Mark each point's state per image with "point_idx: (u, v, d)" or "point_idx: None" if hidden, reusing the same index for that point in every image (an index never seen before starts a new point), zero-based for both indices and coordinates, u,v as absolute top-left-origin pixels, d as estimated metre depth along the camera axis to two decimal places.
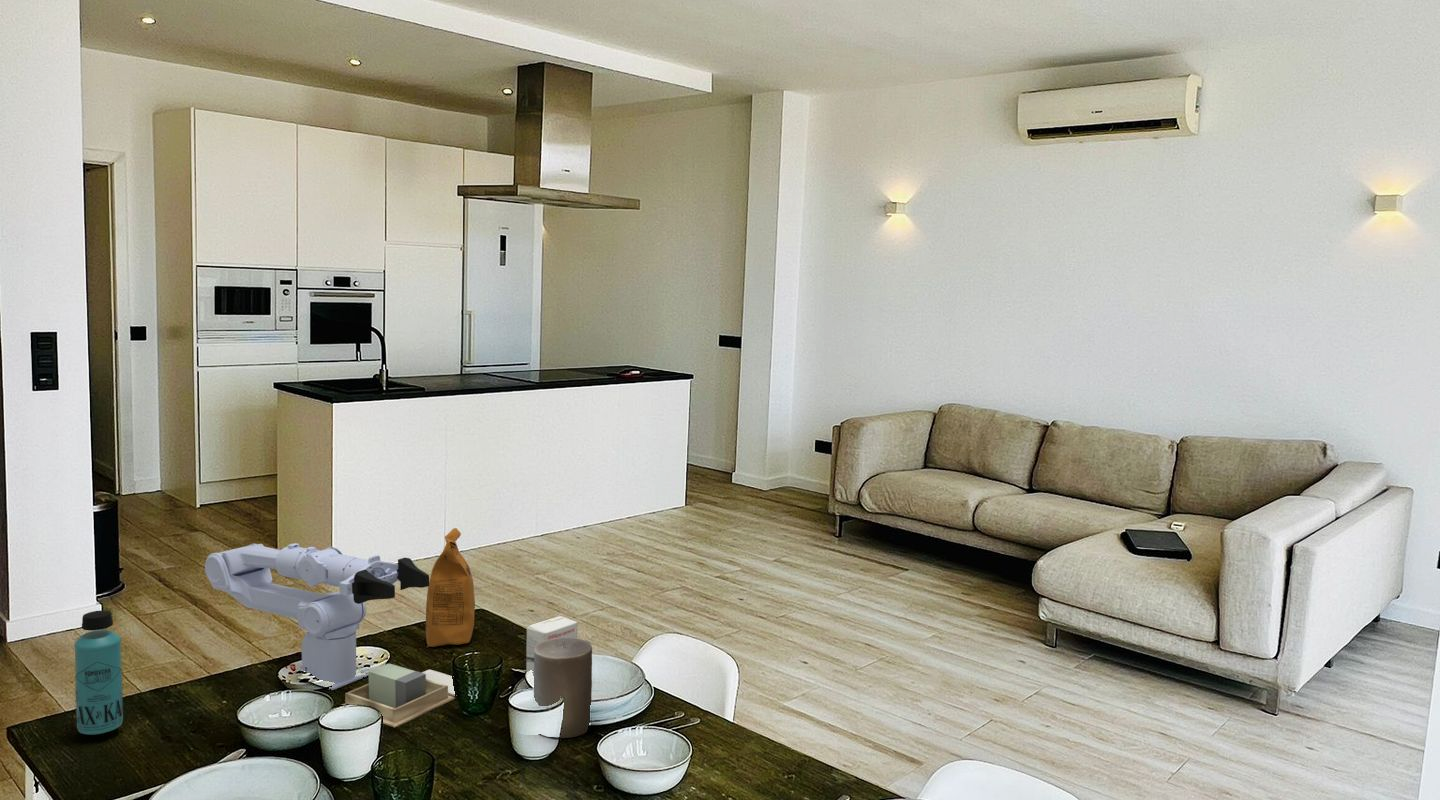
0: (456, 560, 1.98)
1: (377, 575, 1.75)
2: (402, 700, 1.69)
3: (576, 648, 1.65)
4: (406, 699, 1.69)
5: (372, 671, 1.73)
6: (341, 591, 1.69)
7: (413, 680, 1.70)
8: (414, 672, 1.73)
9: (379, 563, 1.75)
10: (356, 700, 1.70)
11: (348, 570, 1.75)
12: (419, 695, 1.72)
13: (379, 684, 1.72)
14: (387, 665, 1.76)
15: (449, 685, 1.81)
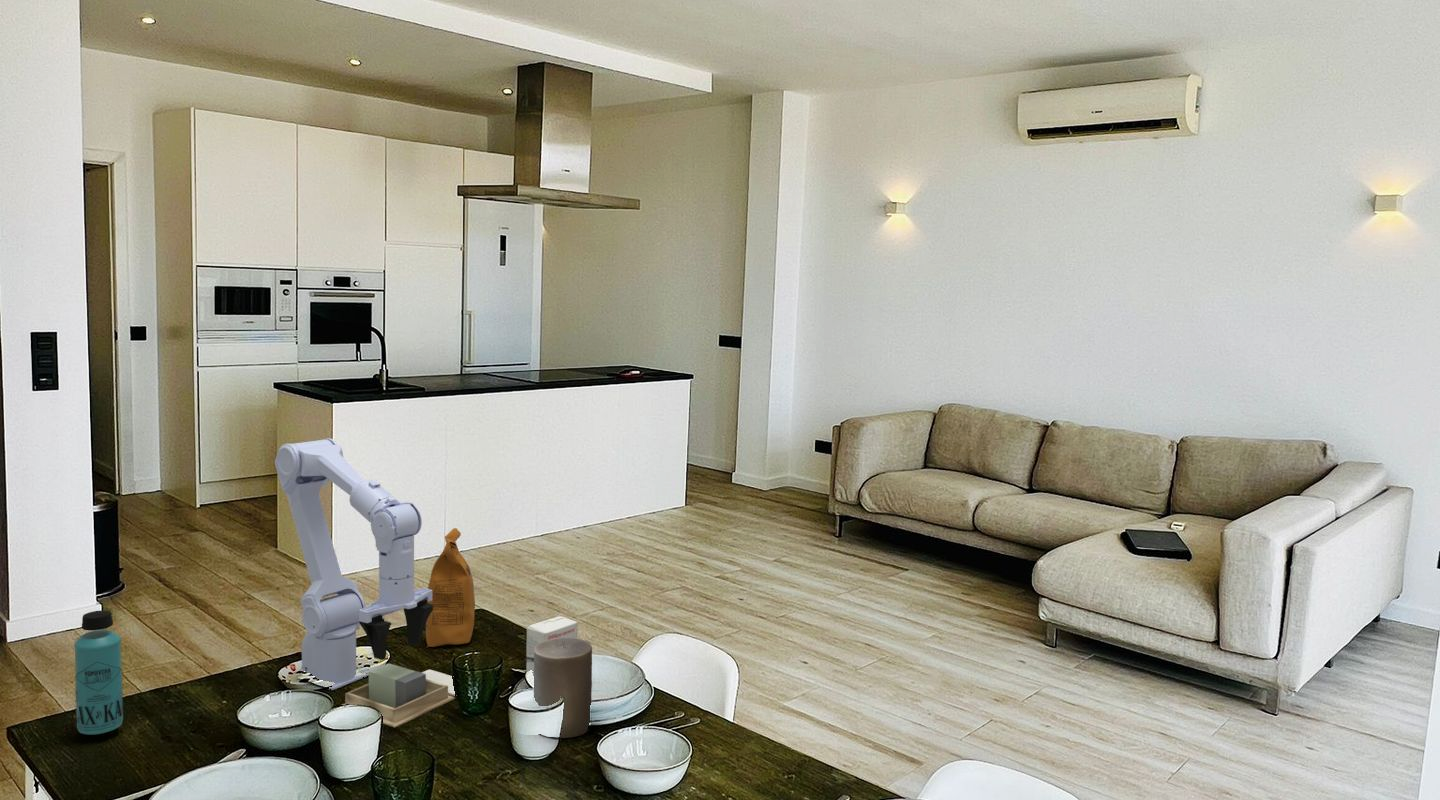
0: (456, 560, 1.98)
1: None
2: (402, 700, 1.69)
3: (576, 648, 1.65)
4: (406, 699, 1.69)
5: (372, 671, 1.73)
6: (360, 613, 1.65)
7: (413, 680, 1.70)
8: (414, 672, 1.73)
9: None
10: (356, 700, 1.70)
11: (391, 585, 1.68)
12: (419, 695, 1.72)
13: (379, 684, 1.72)
14: (387, 665, 1.76)
15: (449, 685, 1.81)
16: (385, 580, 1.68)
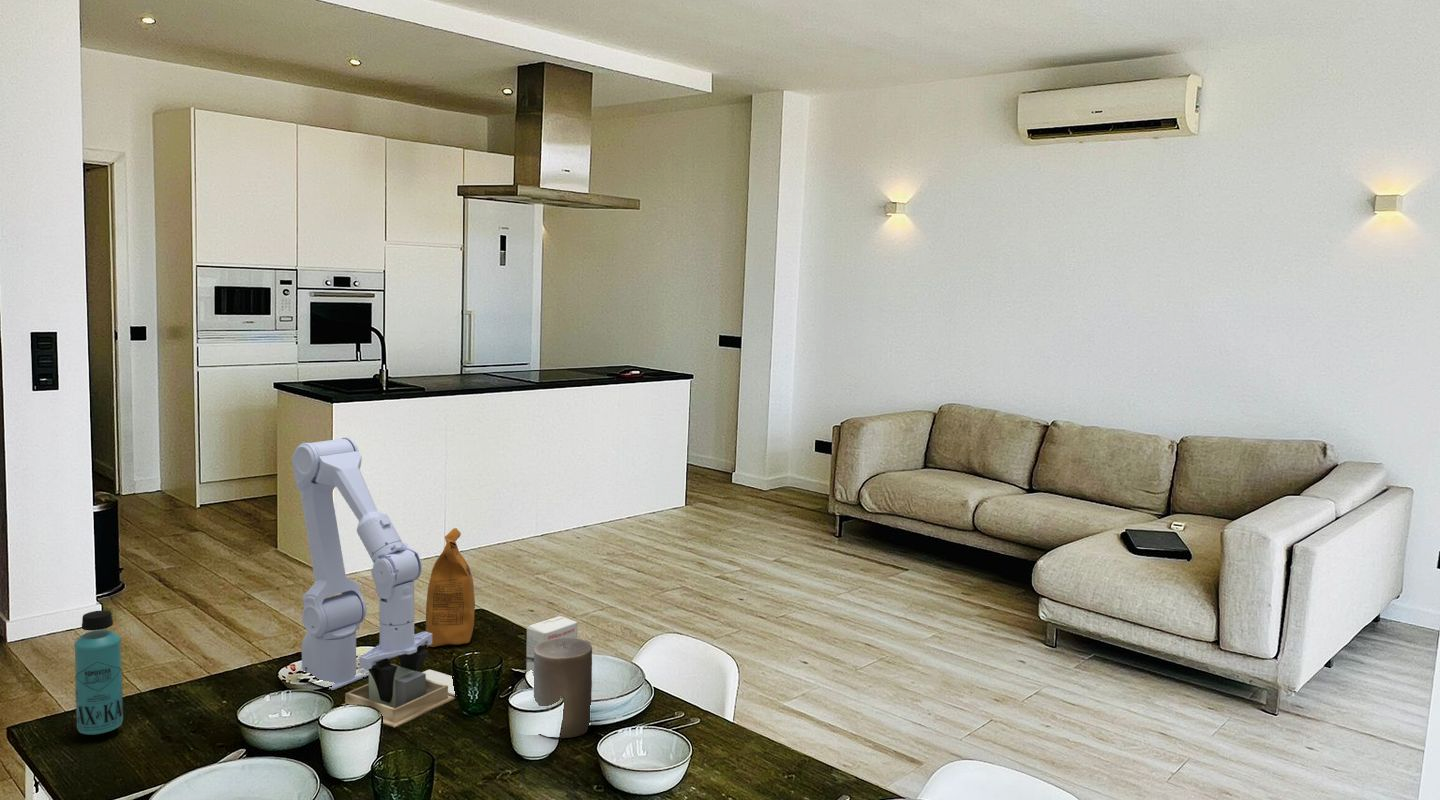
0: (456, 560, 1.98)
1: None
2: (402, 699, 1.69)
3: (576, 648, 1.65)
4: (406, 699, 1.69)
5: None
6: (361, 660, 1.66)
7: (413, 680, 1.70)
8: (414, 671, 1.73)
9: None
10: (356, 700, 1.70)
11: (391, 631, 1.69)
12: (419, 695, 1.72)
13: None
14: None
15: (449, 685, 1.81)
16: (385, 626, 1.69)
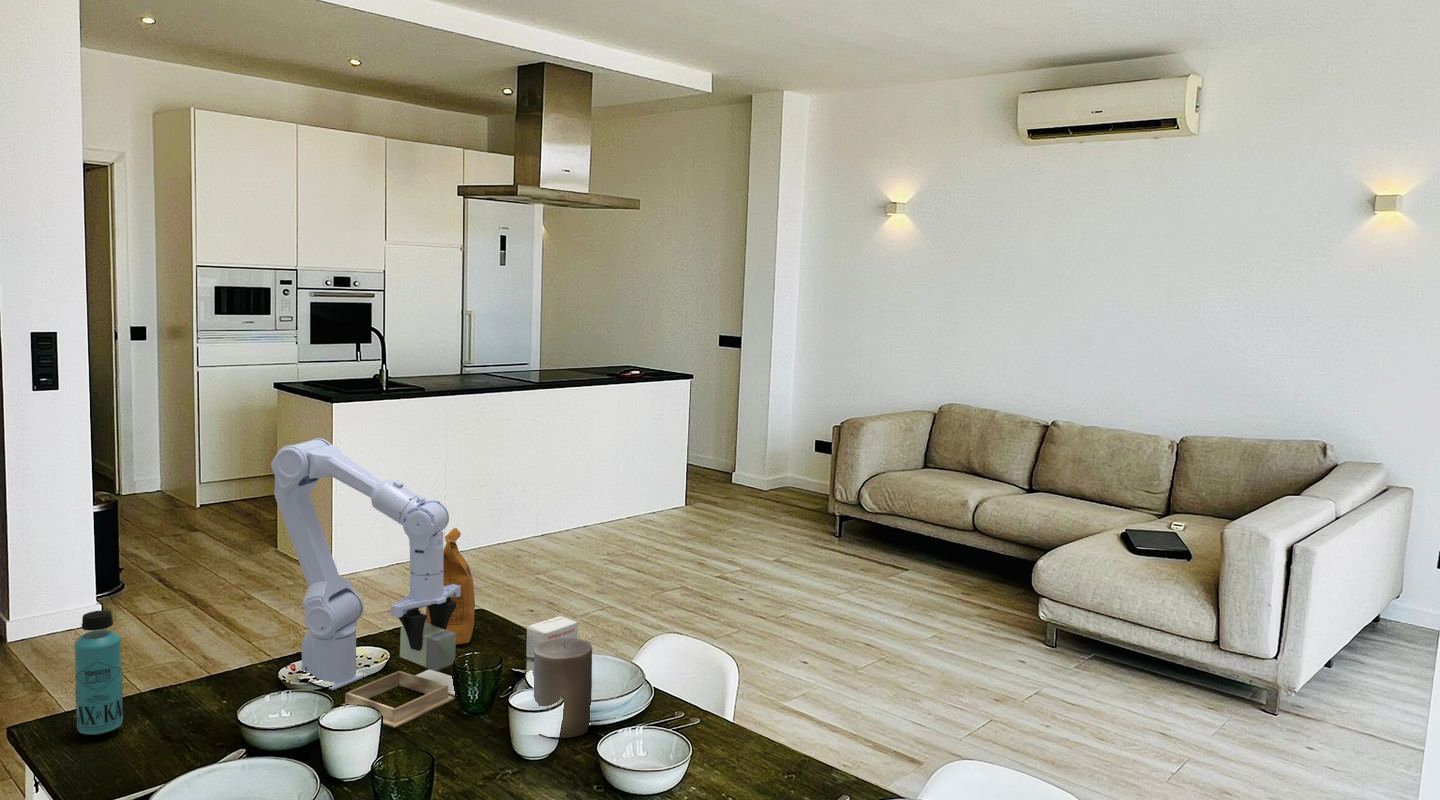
0: (456, 560, 1.98)
1: None
2: (432, 657, 1.75)
3: (576, 648, 1.65)
4: (437, 657, 1.74)
5: None
6: (392, 608, 1.71)
7: (444, 639, 1.75)
8: (445, 630, 1.78)
9: None
10: (356, 700, 1.70)
11: (421, 581, 1.74)
12: (449, 653, 1.77)
13: None
14: None
15: (449, 685, 1.81)
16: (416, 576, 1.74)
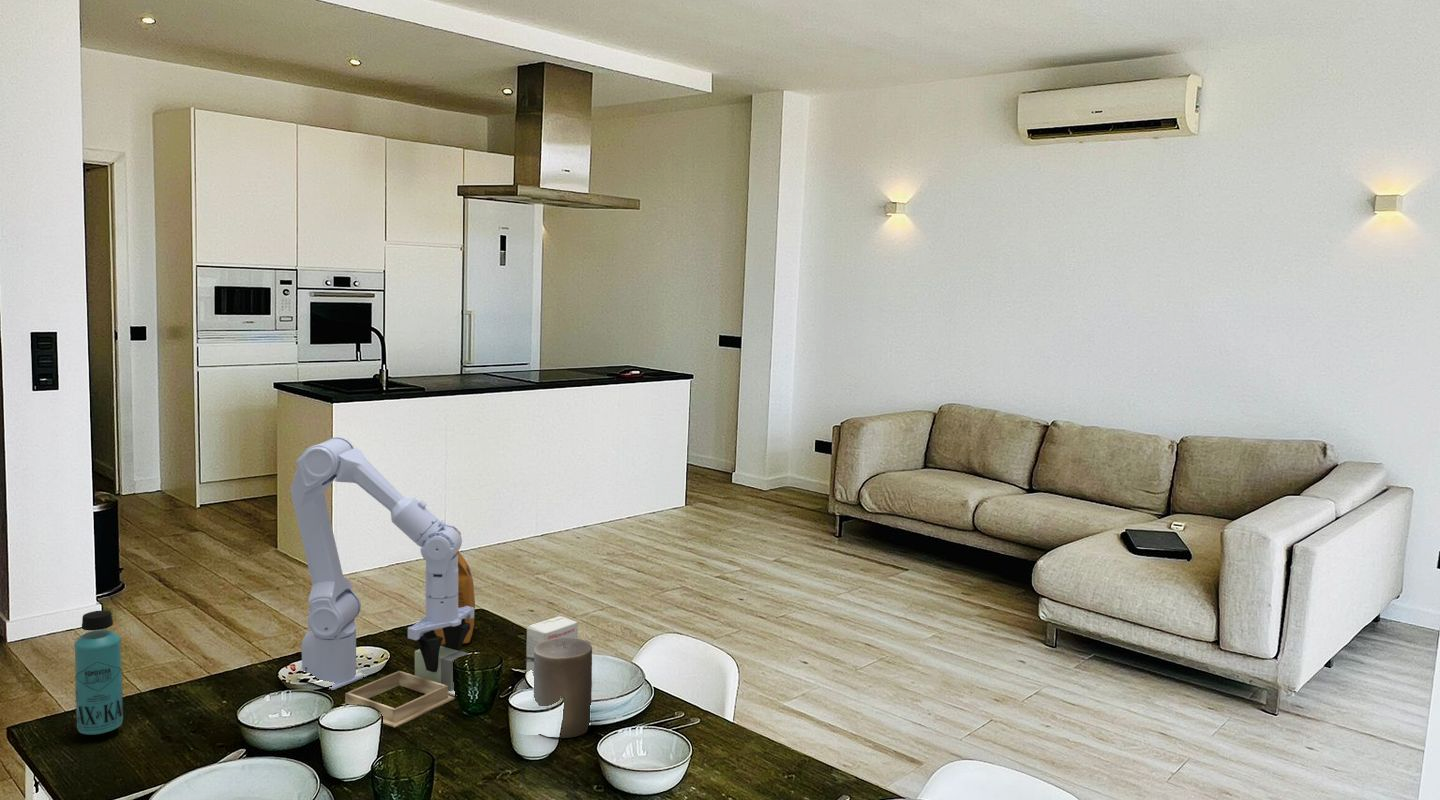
0: None
1: None
2: (447, 677, 1.79)
3: (576, 648, 1.65)
4: (451, 677, 1.78)
5: (418, 650, 1.82)
6: (409, 631, 1.75)
7: None
8: (458, 651, 1.82)
9: None
10: (356, 700, 1.70)
11: (437, 604, 1.78)
12: None
13: (424, 663, 1.81)
14: None
15: None
16: (432, 599, 1.78)
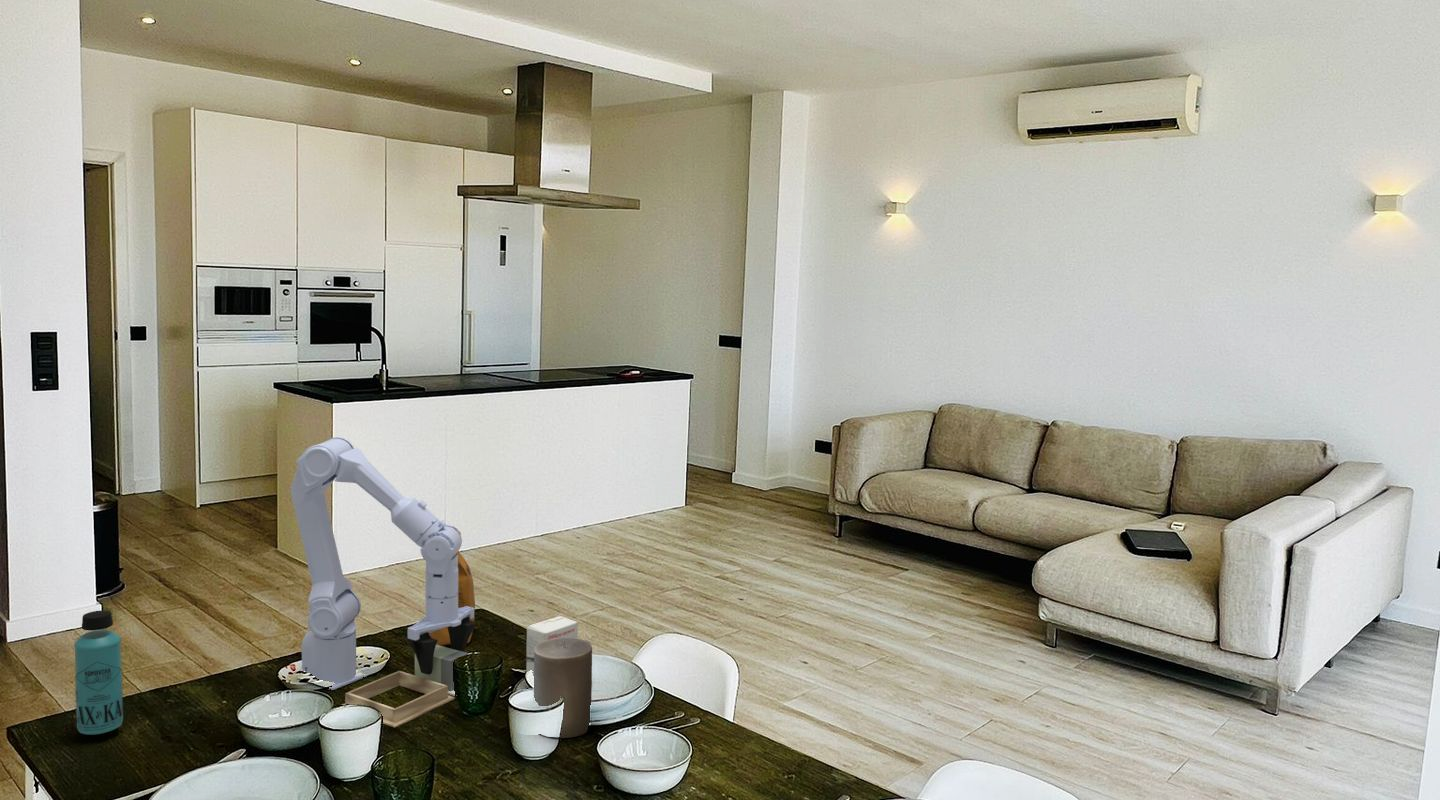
0: None
1: None
2: (447, 677, 1.79)
3: (576, 648, 1.65)
4: (451, 677, 1.78)
5: None
6: (409, 631, 1.75)
7: None
8: (458, 651, 1.82)
9: None
10: (356, 700, 1.70)
11: (437, 604, 1.78)
12: None
13: None
14: None
15: None
16: (431, 599, 1.78)
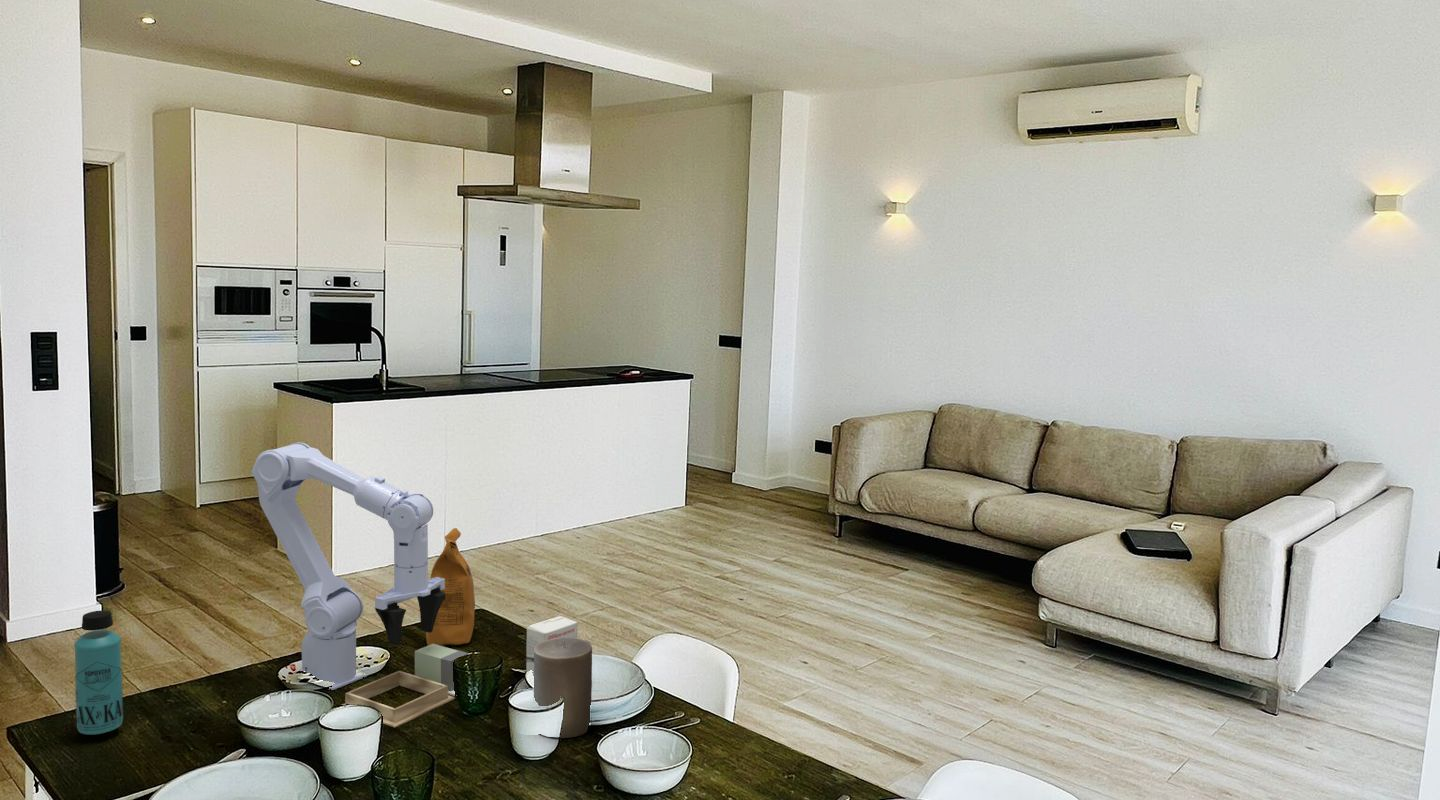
0: (456, 560, 1.98)
1: None
2: (447, 677, 1.79)
3: (576, 648, 1.65)
4: (451, 677, 1.78)
5: (418, 650, 1.82)
6: (377, 600, 1.72)
7: None
8: (458, 651, 1.82)
9: None
10: (356, 700, 1.70)
11: (406, 573, 1.75)
12: None
13: (424, 663, 1.81)
14: (432, 646, 1.85)
15: None
16: (400, 569, 1.75)
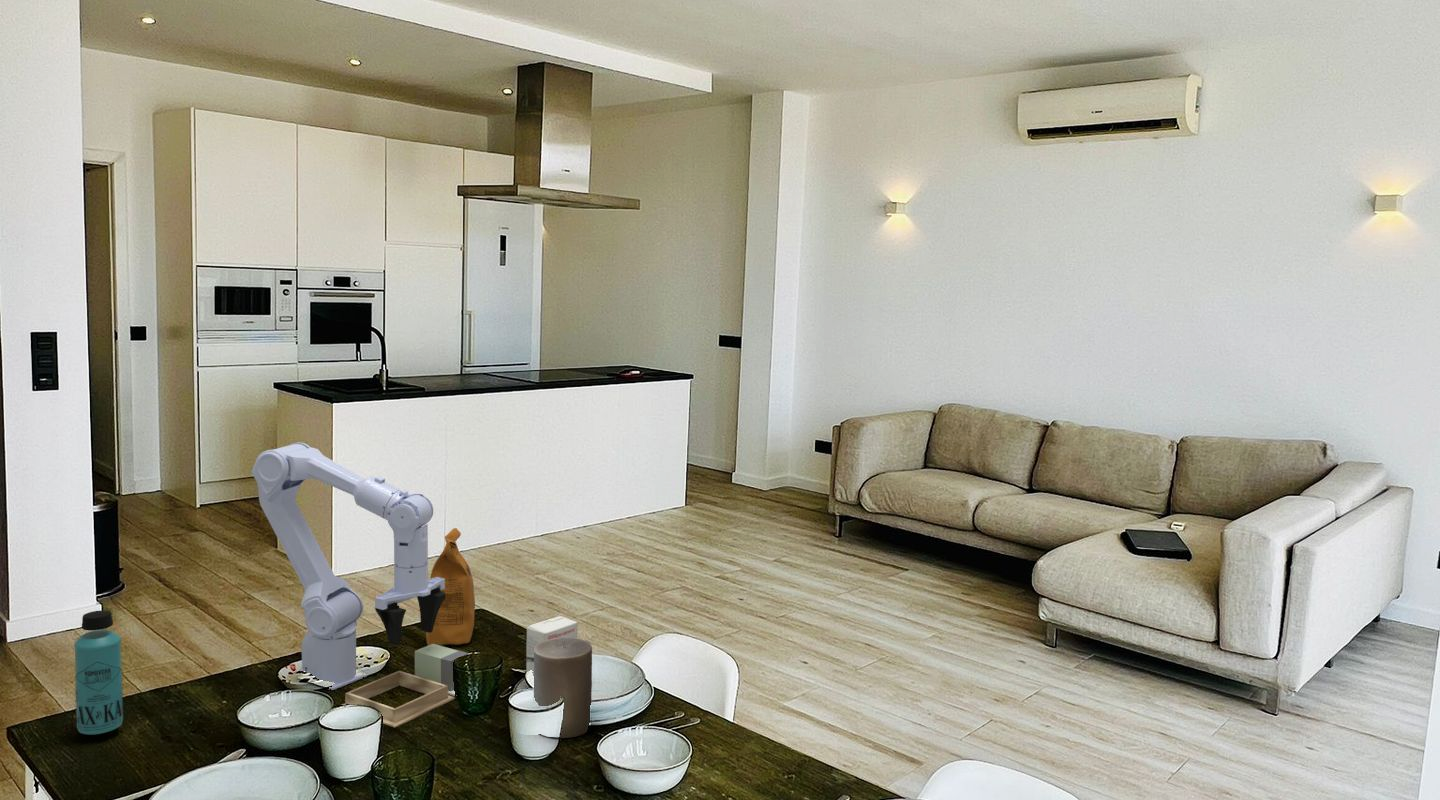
0: (456, 560, 1.98)
1: None
2: (447, 677, 1.79)
3: (576, 648, 1.65)
4: (451, 677, 1.78)
5: (418, 650, 1.82)
6: (377, 600, 1.72)
7: None
8: (458, 651, 1.82)
9: None
10: (356, 700, 1.70)
11: (406, 573, 1.75)
12: None
13: (424, 663, 1.81)
14: (432, 646, 1.85)
15: None
16: (400, 569, 1.75)
